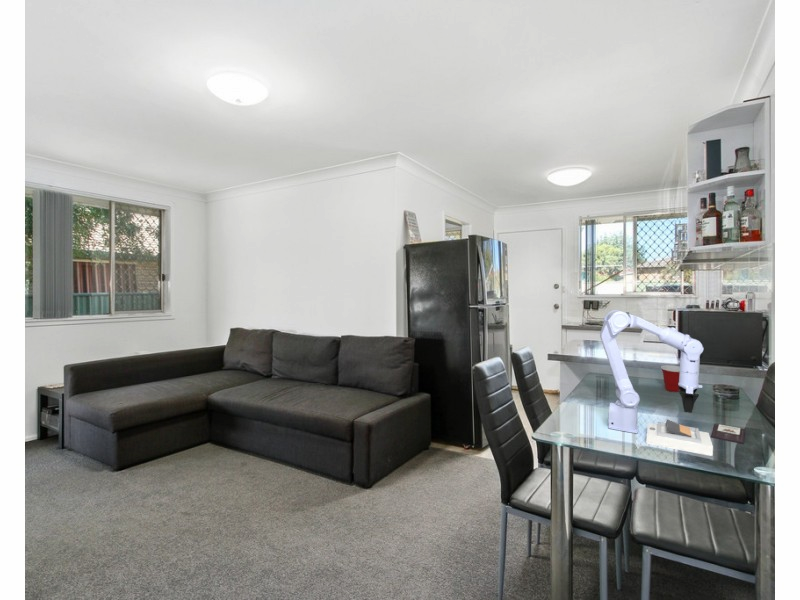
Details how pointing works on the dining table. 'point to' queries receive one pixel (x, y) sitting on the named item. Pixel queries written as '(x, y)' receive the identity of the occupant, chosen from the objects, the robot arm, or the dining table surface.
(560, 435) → the dining table surface
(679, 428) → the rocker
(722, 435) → the chocolate bar
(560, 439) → the dining table surface
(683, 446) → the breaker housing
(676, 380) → the plastic cup
